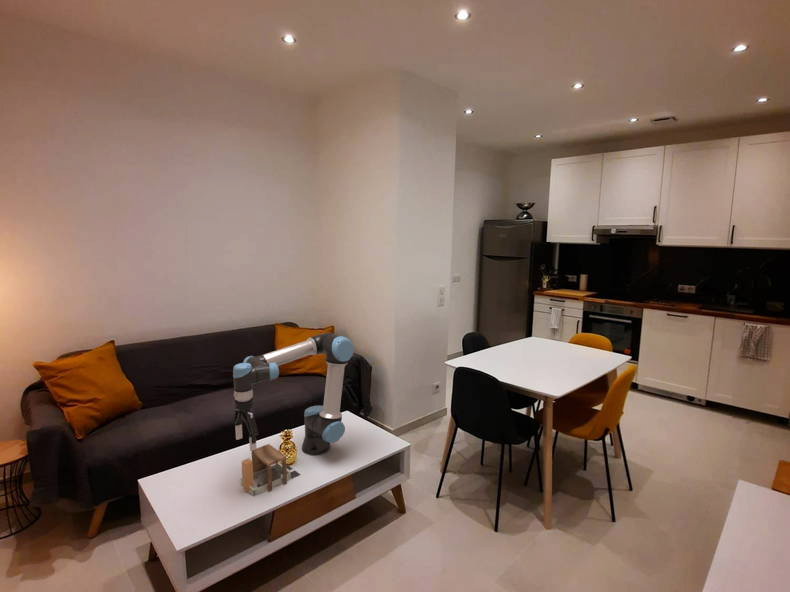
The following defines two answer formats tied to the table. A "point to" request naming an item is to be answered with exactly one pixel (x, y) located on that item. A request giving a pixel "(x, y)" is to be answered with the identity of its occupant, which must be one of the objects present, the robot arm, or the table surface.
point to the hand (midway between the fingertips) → (246, 444)
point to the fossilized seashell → (264, 478)
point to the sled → (249, 476)
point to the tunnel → (268, 462)
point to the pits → (293, 472)
